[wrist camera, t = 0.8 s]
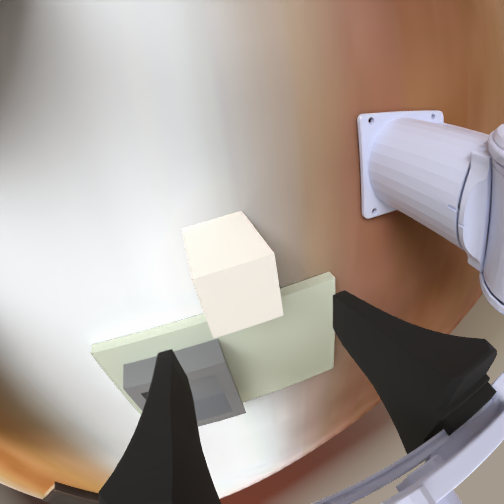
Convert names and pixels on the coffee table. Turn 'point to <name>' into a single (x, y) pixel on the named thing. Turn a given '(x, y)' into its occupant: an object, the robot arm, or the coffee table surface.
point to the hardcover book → (69, 495)
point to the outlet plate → (231, 353)
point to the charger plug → (232, 273)
